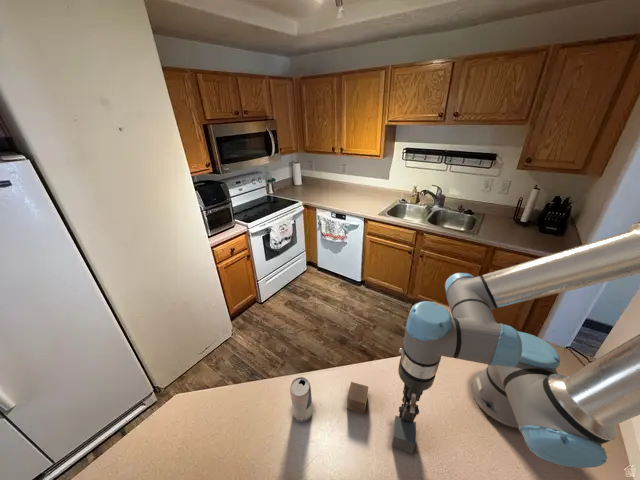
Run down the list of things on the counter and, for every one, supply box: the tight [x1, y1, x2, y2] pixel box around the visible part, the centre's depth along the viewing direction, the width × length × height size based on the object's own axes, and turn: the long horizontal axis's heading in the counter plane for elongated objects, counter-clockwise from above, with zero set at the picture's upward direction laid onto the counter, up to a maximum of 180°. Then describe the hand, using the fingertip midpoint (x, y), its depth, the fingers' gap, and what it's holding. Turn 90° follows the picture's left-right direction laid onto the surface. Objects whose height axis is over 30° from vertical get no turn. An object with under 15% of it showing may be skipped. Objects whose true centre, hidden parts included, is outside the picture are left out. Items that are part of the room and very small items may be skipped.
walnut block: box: [346, 381, 369, 415], centre depth 73 cm, size 5×5×5 cm
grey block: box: [391, 415, 417, 455], centre depth 65 cm, size 5×5×5 cm
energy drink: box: [289, 376, 314, 423], centre depth 69 cm, size 5×5×12 cm
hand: (403, 421), depth 67 cm, fingers closed
